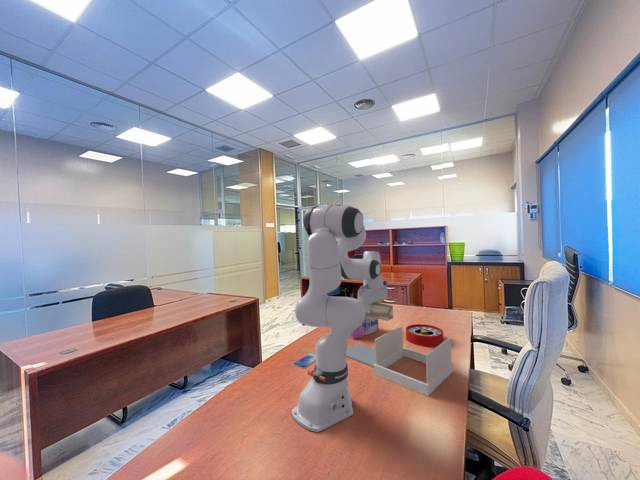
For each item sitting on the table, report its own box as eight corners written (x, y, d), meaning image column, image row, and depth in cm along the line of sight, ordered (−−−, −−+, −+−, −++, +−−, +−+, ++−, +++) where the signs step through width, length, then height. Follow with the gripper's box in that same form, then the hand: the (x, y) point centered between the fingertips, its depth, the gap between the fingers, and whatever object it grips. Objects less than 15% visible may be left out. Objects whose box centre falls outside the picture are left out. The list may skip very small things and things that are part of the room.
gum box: (352, 340, 154) (351, 317, 154) (343, 336, 161) (342, 314, 160) (378, 330, 169) (378, 309, 169) (369, 327, 175) (368, 306, 175)
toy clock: (411, 336, 143) (402, 324, 163) (411, 347, 143) (402, 333, 163) (449, 336, 141) (435, 323, 161) (449, 347, 141) (435, 333, 161)
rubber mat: (377, 369, 120) (377, 367, 120) (338, 353, 137) (338, 352, 137) (396, 357, 131) (396, 356, 131) (357, 344, 148) (357, 343, 148)
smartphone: (322, 355, 135) (304, 368, 122) (322, 357, 135) (304, 369, 122) (311, 352, 139) (292, 363, 127) (311, 353, 139) (292, 365, 127)
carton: (427, 396, 99) (426, 356, 99) (374, 373, 116) (373, 339, 116) (453, 371, 116) (452, 337, 116) (402, 354, 133) (402, 325, 133)
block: (386, 321, 122) (385, 308, 121) (355, 313, 135) (355, 301, 135) (394, 317, 126) (393, 305, 126) (363, 310, 139) (363, 299, 139)
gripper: (364, 287, 121) (365, 317, 121) (389, 281, 135) (390, 308, 135) (353, 285, 126) (354, 314, 126) (378, 279, 140) (379, 306, 140)
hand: (373, 311), depth 131 cm, fingers closed on block, 5 cm apart
